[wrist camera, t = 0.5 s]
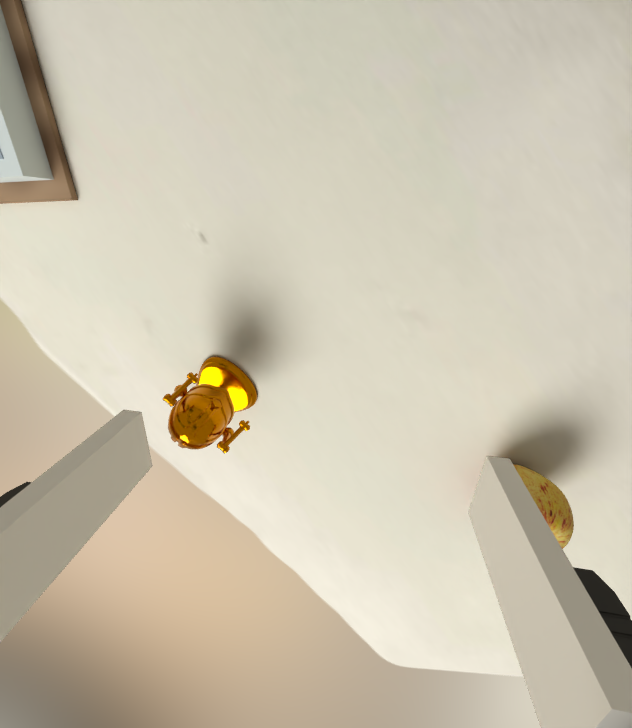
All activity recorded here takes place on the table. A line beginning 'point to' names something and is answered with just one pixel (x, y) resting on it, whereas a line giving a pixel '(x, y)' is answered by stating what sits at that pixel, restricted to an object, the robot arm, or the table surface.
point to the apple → (549, 503)
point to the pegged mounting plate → (17, 121)
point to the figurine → (210, 405)
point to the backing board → (43, 115)
